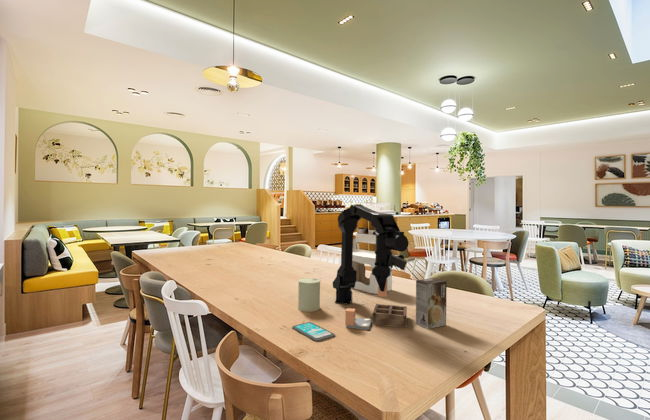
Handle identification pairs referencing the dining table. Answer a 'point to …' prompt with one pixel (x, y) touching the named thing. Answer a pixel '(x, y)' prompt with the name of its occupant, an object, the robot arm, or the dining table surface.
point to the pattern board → (356, 320)
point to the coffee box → (431, 303)
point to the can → (309, 294)
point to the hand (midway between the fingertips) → (382, 290)
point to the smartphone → (313, 331)
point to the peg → (384, 294)
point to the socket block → (390, 315)
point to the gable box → (358, 263)
